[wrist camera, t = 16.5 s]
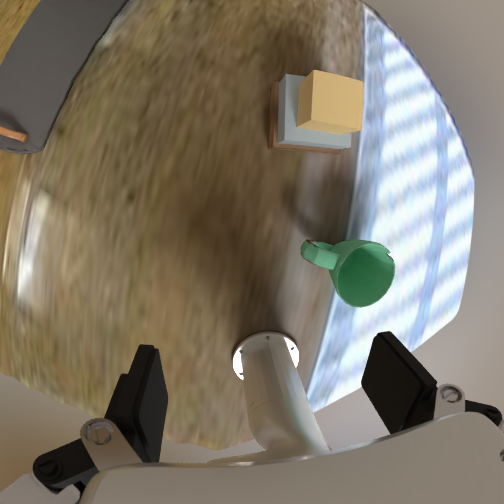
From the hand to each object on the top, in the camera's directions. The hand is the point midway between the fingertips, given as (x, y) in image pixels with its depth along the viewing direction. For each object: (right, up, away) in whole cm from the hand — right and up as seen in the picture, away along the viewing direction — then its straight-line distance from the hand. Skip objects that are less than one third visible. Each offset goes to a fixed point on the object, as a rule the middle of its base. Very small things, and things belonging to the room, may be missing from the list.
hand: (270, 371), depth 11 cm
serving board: (-38, +41, +20) cm, 59 cm away
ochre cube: (+8, +23, +21) cm, 32 cm away
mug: (+12, +5, +36) cm, 38 cm away
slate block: (+7, +24, +25) cm, 36 cm away
